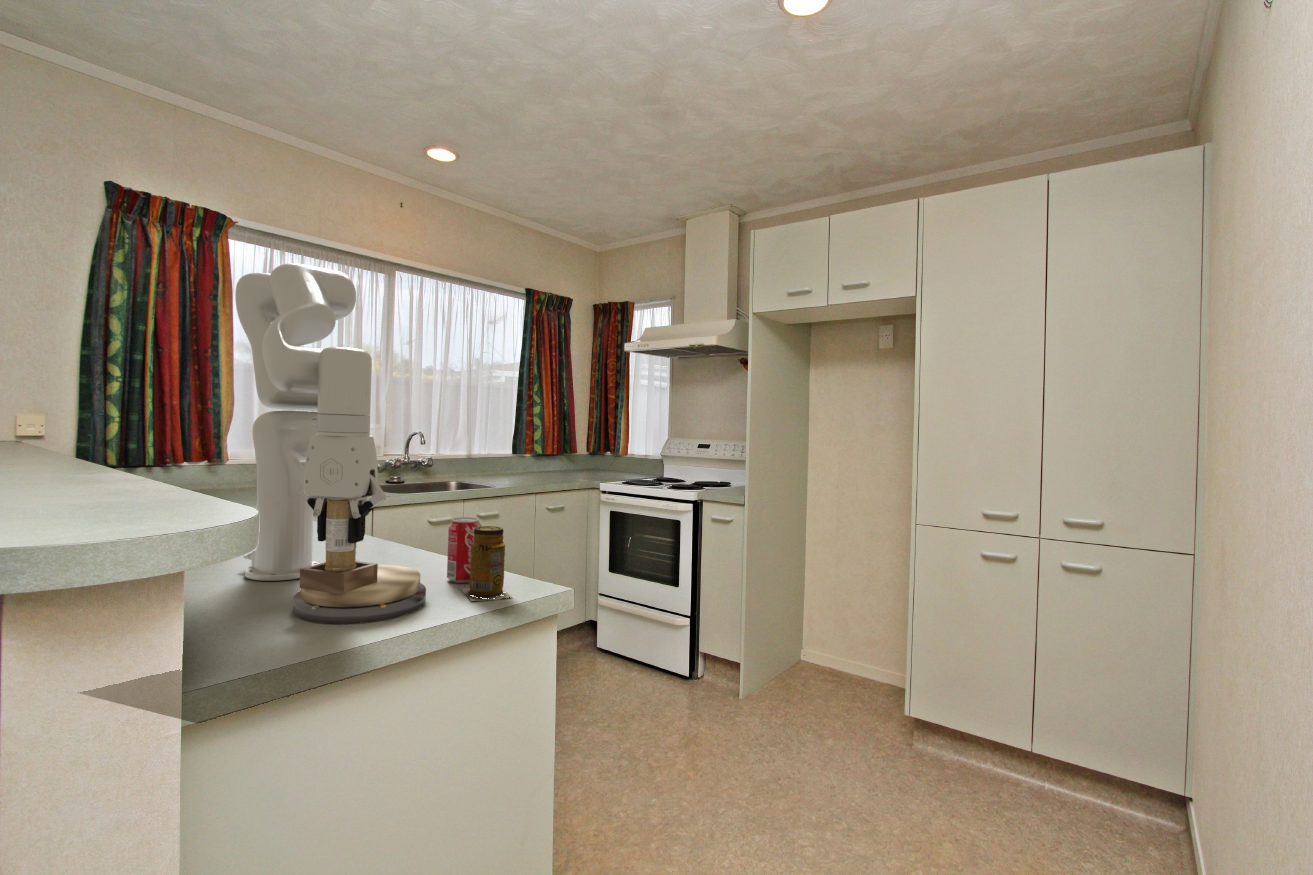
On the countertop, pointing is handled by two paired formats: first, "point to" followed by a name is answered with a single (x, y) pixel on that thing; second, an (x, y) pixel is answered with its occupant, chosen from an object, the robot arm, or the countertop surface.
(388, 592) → the dial
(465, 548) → the beverage can
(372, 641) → the countertop surface
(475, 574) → the condiment
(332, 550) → the sprinkles bottle
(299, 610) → the dial plate
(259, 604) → the countertop surface
